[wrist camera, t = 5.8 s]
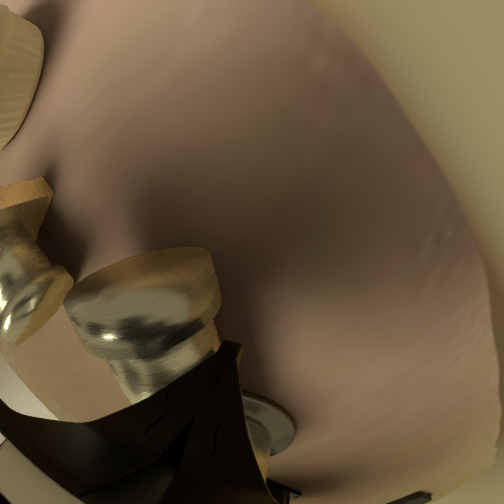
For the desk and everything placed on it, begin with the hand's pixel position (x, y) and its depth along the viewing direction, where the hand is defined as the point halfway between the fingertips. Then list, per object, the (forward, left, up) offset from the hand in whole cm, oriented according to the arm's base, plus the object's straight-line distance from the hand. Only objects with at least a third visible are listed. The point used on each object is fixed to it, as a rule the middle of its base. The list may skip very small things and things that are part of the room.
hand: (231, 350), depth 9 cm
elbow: (-2, +5, -3) cm, 6 cm away
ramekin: (+22, +2, -4) cm, 22 cm away
